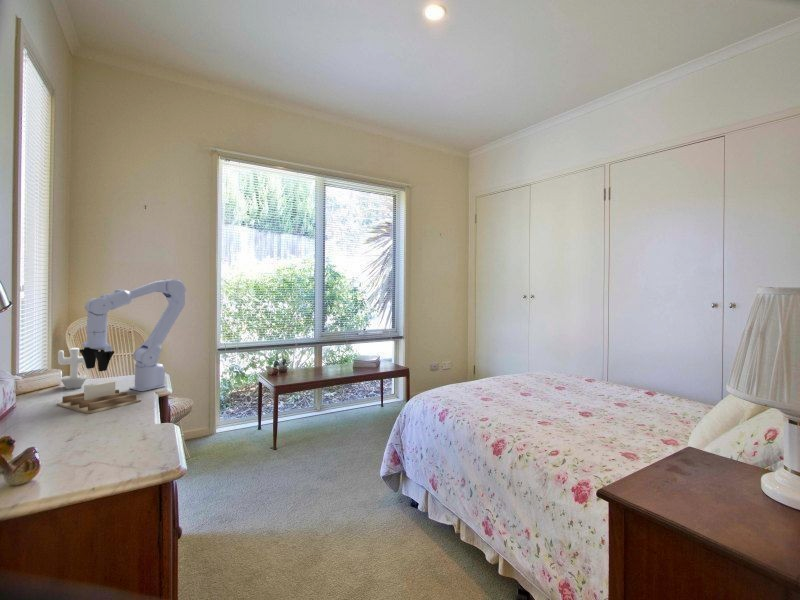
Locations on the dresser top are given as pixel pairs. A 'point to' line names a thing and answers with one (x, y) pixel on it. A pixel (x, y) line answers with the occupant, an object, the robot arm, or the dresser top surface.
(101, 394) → the cream slab
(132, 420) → the dresser top surface
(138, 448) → the dresser top surface
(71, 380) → the figurine
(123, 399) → the dish rack
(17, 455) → the dresser top surface
